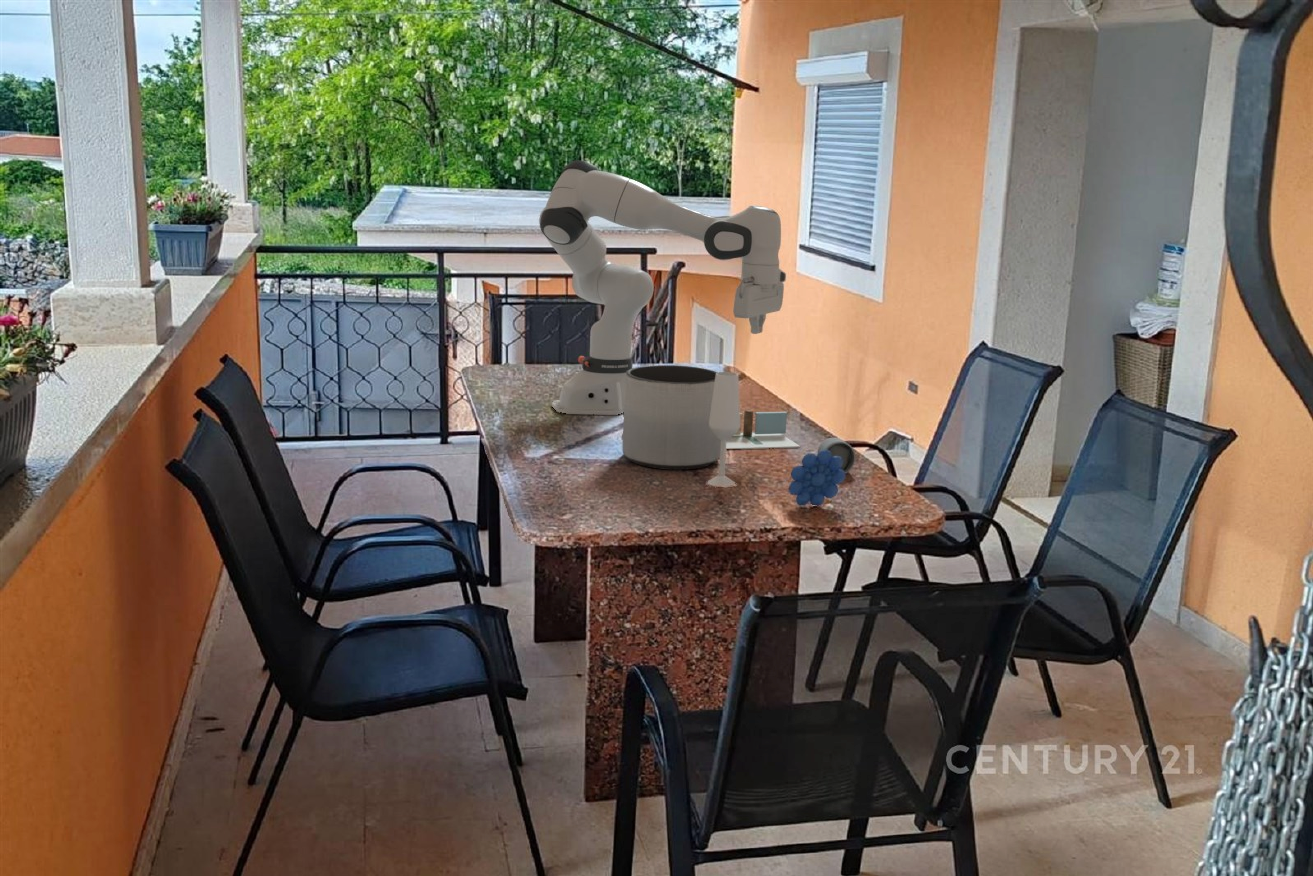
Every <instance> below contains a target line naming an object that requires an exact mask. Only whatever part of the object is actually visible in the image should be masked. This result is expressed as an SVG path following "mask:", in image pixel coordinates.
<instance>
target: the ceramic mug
mask: <svg viewBox="0 0 1313 876" xmlns="http://www.w3.org/2000/svg"><path fill="white" fill-rule="evenodd" d="M822 450H829V451H830V452H831V456H832V457H834V456H840V457H841V458H842V461H843V464H842V466H841V468H840V469H841V470H843V471H844V472H845V475H846V474H847V473H849V472H851V470H853V467H854V466H855V463H856V452H855V449H854V448H853V447H852V445H850V444H849V443H847V441H845V440H844V439H841V438H839V437H829V438H826V439H824V440H823V441H822V442H821V443H820V444H819V446H818V449H817V454H818V453H819V452H820V451H822ZM816 457H817V455H816ZM832 457H831V458H832Z"/></svg>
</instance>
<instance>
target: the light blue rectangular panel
mask: <svg viewBox="0 0 1313 876" xmlns="http://www.w3.org/2000/svg"><path fill="white" fill-rule="evenodd" d="M754 414H755V420H754V433H755V434H782V435H784V434H786V433H787V419H788V412H787V411H763V412H762V411H758V412H757V411H756V412H754Z"/></svg>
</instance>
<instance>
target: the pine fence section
mask: <svg viewBox="0 0 1313 876" xmlns="http://www.w3.org/2000/svg"><path fill="white" fill-rule="evenodd" d="M743 415H744V416H743ZM742 417H743V428H742ZM753 424H754V410H751V409H747V410H746V409H744V414H743V413H742V412H740V428H739V430H738V431H737V432H736V433H735V434H734V435H741V433H743V436H746V437H751V436H752V433H753V427H754V425H753ZM741 429H743V432H741Z"/></svg>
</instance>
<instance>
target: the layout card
mask: <svg viewBox="0 0 1313 876" xmlns="http://www.w3.org/2000/svg"><path fill="white" fill-rule="evenodd" d="M769 448H770V449H771V450H772V448H774V449H800V448H801V446H800V445H799V444H797V443H796V442H794V441H793V440H791V439H790V438H788V437H786V436H785V435H784V434H755V432H752V436H751V437H746V436H743V432H741V435H733V436H732V437H731V438H730V439H728V440H726V449H741V450H770V449H769ZM774 449H773V450H774Z"/></svg>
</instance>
